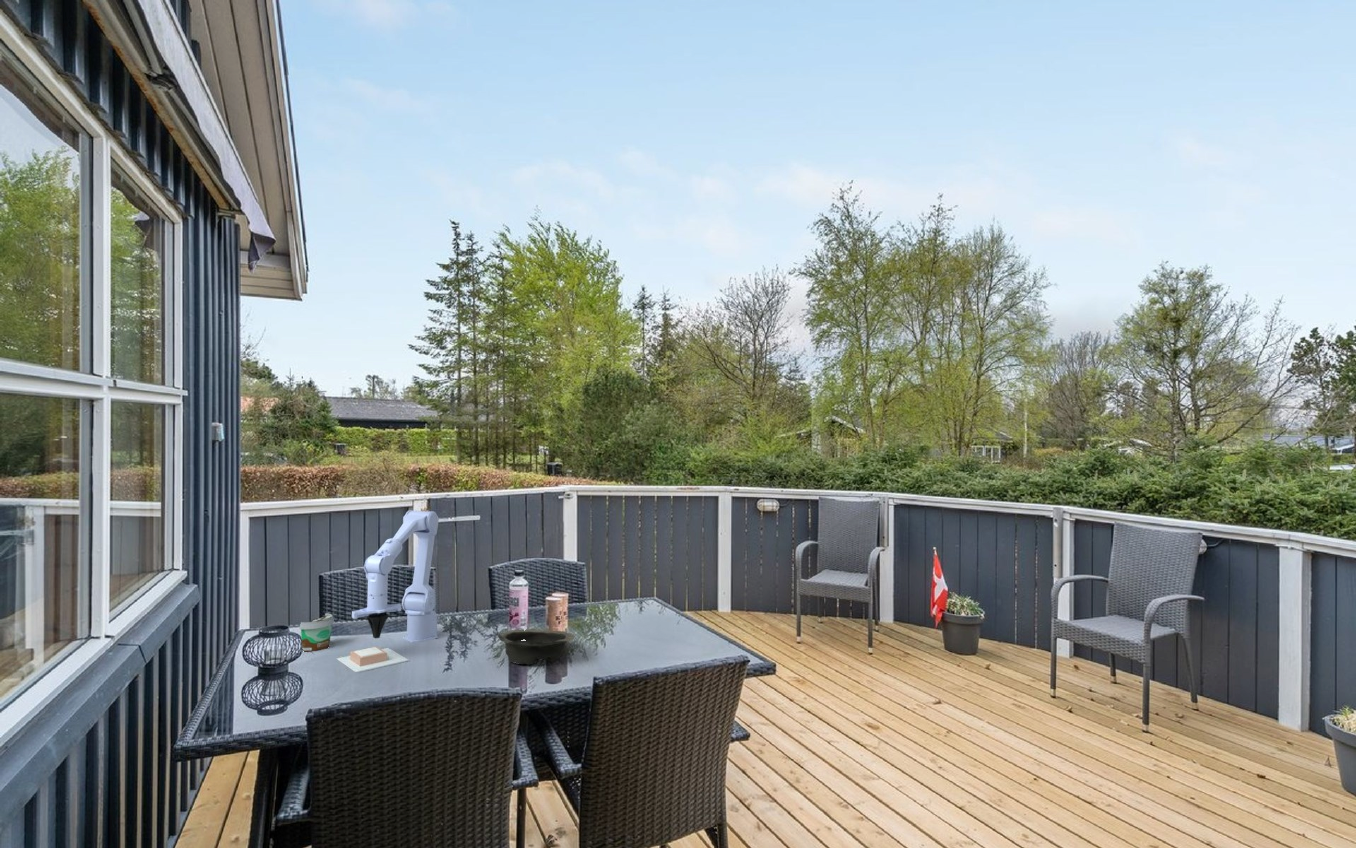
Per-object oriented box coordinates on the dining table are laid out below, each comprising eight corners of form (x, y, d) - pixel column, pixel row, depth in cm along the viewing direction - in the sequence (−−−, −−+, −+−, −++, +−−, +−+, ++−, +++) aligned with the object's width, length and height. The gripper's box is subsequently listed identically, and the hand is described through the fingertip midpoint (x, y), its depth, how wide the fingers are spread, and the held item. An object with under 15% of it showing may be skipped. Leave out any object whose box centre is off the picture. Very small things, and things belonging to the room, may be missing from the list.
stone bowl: (504, 674, 205) (503, 642, 206) (491, 654, 228) (491, 626, 229) (584, 663, 215) (584, 633, 216) (564, 645, 238) (564, 618, 239)
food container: (315, 656, 218) (316, 624, 218) (298, 654, 219) (299, 622, 219) (342, 644, 230) (342, 614, 230) (325, 642, 231) (326, 612, 231)
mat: (386, 648, 227) (386, 646, 227) (410, 662, 214) (410, 660, 214) (335, 659, 216) (335, 657, 216) (356, 674, 203) (357, 672, 203)
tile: (376, 646, 220) (350, 651, 214) (386, 652, 214) (360, 657, 208) (376, 654, 220) (350, 659, 214) (386, 660, 214) (359, 666, 208)
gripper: (358, 600, 208) (357, 645, 208) (405, 592, 218) (404, 635, 218) (349, 595, 213) (348, 639, 213) (396, 588, 223) (395, 630, 223)
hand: (376, 637), depth 216 cm, fingers closed
